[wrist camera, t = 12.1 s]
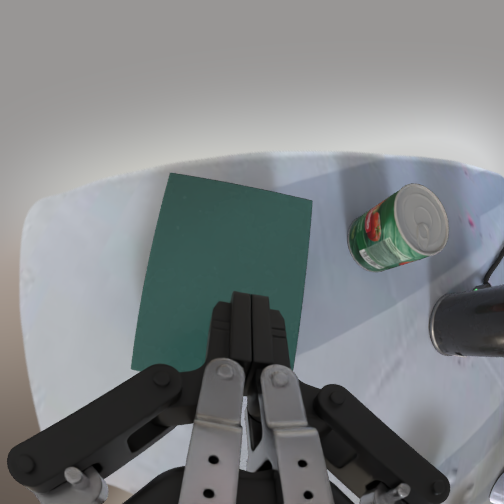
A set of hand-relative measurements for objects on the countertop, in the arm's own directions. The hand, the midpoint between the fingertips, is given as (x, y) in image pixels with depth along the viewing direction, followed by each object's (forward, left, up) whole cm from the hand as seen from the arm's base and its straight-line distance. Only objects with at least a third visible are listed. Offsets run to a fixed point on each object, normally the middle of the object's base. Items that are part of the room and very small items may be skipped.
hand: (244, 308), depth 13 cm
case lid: (-1, -2, -11) cm, 12 cm away
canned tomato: (-22, +1, -21) cm, 31 cm away
